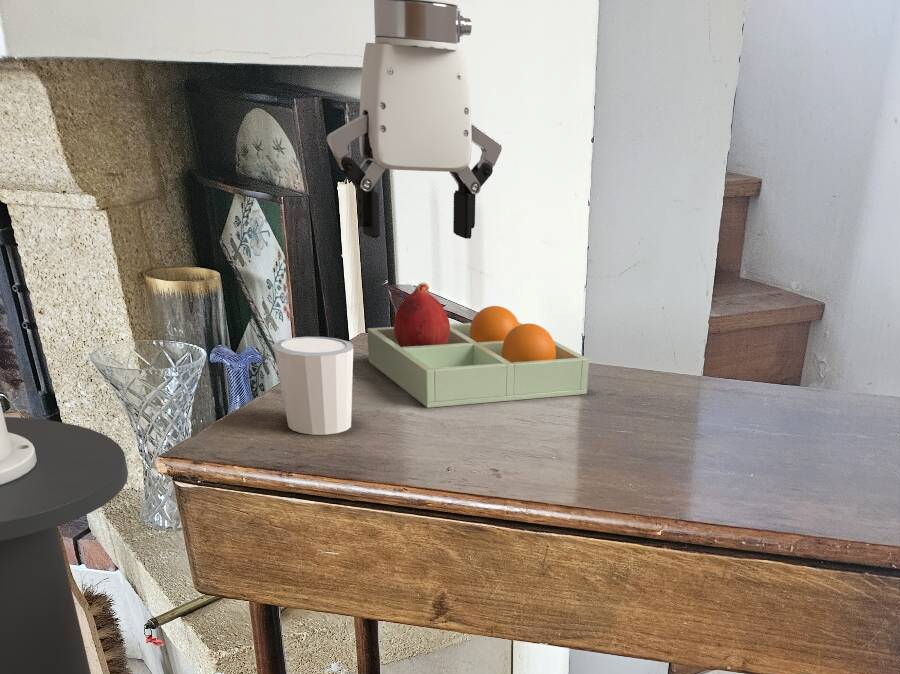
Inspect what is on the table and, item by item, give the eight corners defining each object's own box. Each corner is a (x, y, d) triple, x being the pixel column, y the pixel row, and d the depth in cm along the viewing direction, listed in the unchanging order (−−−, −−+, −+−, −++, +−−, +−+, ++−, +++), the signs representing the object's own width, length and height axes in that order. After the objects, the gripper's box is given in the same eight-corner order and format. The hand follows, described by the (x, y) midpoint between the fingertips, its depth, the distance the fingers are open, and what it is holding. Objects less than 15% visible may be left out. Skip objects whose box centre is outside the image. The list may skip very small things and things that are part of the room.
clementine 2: (515, 389, 105) (516, 331, 102) (492, 375, 109) (493, 319, 106) (563, 385, 107) (566, 328, 104) (539, 371, 111) (542, 316, 108)
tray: (427, 408, 100) (426, 370, 98) (368, 362, 112) (367, 328, 110) (586, 394, 107) (589, 359, 105) (514, 352, 120) (515, 320, 118)
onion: (423, 373, 107) (421, 291, 103) (383, 362, 110) (380, 281, 105) (460, 364, 111) (460, 284, 107) (421, 353, 114) (420, 275, 109)
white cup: (272, 434, 91) (263, 351, 87) (291, 411, 96) (284, 332, 93) (350, 439, 91) (344, 356, 87) (365, 416, 96) (360, 337, 93)
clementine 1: (481, 368, 111) (482, 313, 108) (461, 355, 115) (461, 301, 112) (528, 365, 113) (530, 310, 110) (507, 352, 117) (508, 299, 114)
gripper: (486, 36, 100) (481, 231, 110) (310, 19, 93) (321, 229, 102) (519, 37, 95) (511, 242, 104) (335, 19, 88) (345, 241, 97)
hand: (417, 236), depth 103 cm, fingers open, 9 cm apart
